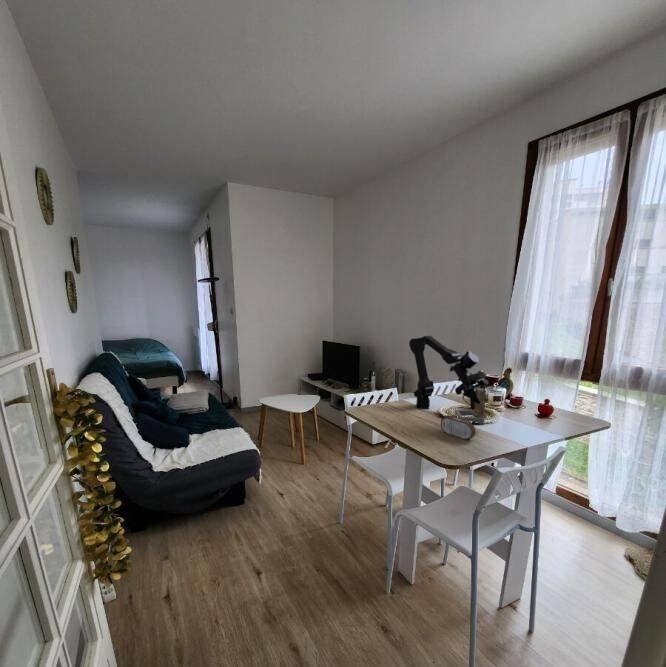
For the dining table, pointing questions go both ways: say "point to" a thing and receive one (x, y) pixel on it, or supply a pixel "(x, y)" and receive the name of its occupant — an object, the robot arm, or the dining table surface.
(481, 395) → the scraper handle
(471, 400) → the coffee mug
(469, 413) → the box
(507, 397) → the dining table surface
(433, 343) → the robot arm
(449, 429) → the tin
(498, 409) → the dining table surface
